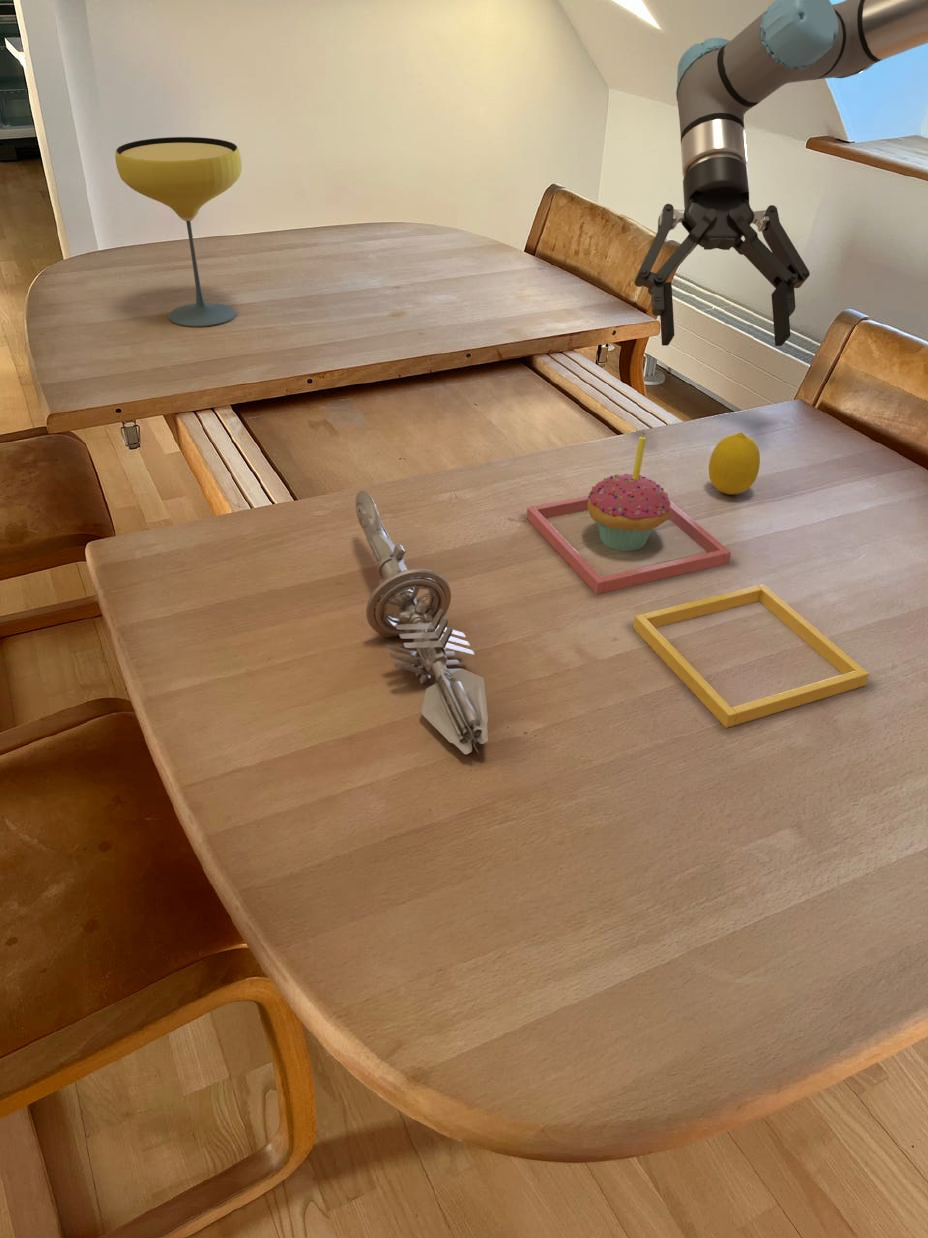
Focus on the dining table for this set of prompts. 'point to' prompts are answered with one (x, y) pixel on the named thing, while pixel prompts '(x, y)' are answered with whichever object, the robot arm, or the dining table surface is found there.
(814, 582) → the dining table surface
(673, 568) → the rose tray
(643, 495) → the cupcake
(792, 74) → the robot arm
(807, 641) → the yellow square frame
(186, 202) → the cocktail glass
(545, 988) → the dining table surface
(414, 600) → the spaceship
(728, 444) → the lemon
